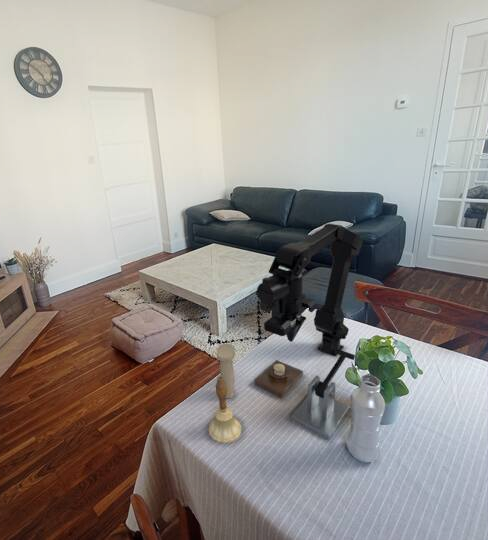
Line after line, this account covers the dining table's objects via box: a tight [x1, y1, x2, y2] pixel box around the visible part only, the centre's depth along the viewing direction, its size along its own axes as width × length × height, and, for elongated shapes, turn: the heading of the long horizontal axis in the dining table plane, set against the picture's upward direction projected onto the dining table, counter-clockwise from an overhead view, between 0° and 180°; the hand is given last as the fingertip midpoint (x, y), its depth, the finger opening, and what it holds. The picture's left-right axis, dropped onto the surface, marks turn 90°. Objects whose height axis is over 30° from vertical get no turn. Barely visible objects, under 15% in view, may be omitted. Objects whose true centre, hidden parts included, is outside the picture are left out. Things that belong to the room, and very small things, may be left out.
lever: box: [315, 349, 356, 399], centre depth 87 cm, size 16×5×2 cm, turn 136°
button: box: [274, 364, 285, 375], centre depth 98 cm, size 3×3×2 cm
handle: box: [216, 343, 236, 399], centre depth 93 cm, size 5×6×15 cm
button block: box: [254, 359, 304, 399], centre depth 99 cm, size 12×9×4 cm
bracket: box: [290, 375, 350, 440], centre depth 84 cm, size 12×10×10 cm
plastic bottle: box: [346, 374, 386, 463], centre depth 71 cm, size 6×7×20 cm
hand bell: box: [208, 376, 243, 444], centre depth 82 cm, size 8×8×16 cm
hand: (290, 340), depth 97 cm, fingers closed
